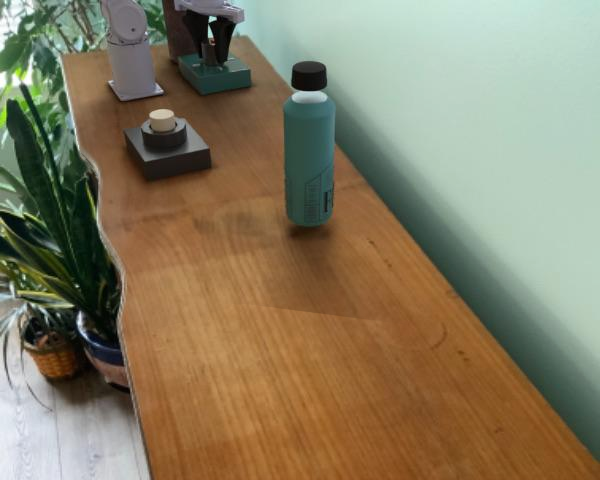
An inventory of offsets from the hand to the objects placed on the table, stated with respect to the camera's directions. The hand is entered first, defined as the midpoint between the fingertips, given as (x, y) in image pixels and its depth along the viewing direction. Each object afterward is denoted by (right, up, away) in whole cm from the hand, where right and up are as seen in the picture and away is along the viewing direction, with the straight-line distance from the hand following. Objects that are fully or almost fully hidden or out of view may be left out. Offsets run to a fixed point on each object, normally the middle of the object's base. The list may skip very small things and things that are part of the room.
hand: (213, 59), depth 117 cm
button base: (-4, -26, -19) cm, 33 cm away
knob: (0, 0, 0) cm, 0 cm away
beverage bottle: (+17, -40, -33) cm, 55 cm away
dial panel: (0, -2, +3) cm, 3 cm away
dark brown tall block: (-7, +6, +10) cm, 14 cm away
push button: (-4, -23, -23) cm, 32 cm away
